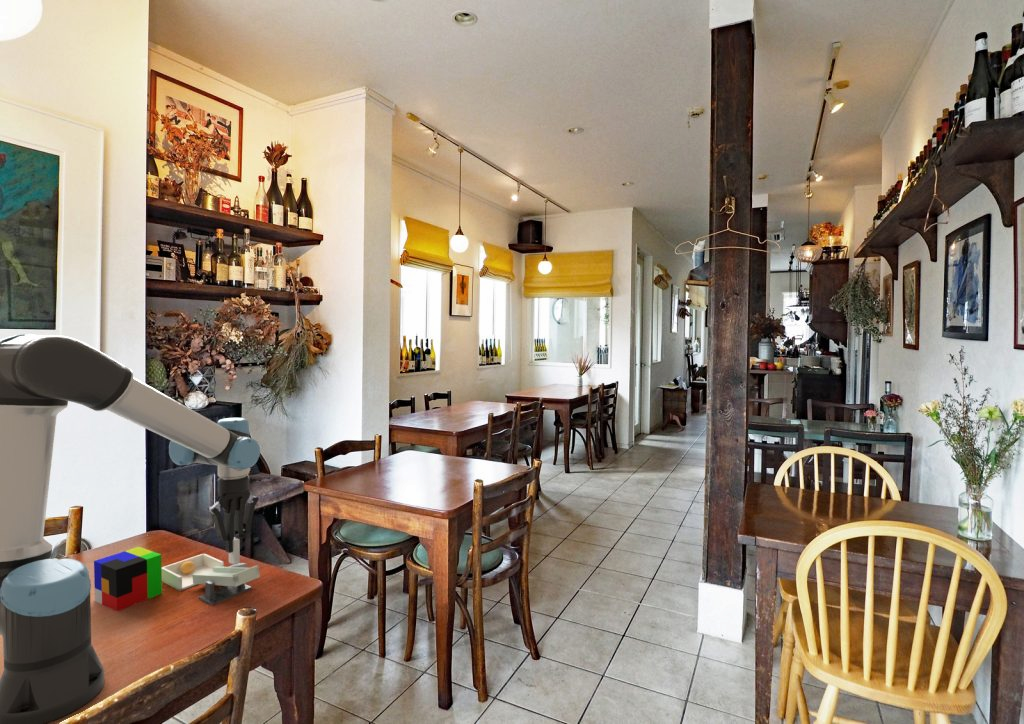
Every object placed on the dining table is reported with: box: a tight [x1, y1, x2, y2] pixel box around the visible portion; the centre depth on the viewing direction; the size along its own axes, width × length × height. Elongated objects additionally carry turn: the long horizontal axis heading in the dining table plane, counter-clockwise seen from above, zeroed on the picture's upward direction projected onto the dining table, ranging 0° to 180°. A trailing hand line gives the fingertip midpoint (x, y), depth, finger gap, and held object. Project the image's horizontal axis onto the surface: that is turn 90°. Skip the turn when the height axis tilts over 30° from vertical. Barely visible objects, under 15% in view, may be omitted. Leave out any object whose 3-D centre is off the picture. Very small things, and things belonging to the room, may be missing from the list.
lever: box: [192, 562, 261, 587], centre depth 135 cm, size 20×12×3 cm, turn 57°
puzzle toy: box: [93, 546, 163, 612], centre depth 130 cm, size 10×10×10 cm
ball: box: [181, 561, 194, 574], centre depth 142 cm, size 3×3×3 cm
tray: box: [161, 552, 225, 592], centre depth 141 cm, size 11×10×4 cm
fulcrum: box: [198, 581, 253, 607], centre depth 132 cm, size 6×10×4 cm, turn 148°
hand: (234, 562), depth 142 cm, fingers closed
